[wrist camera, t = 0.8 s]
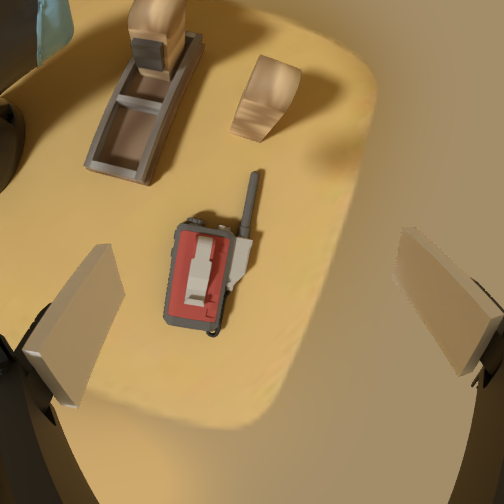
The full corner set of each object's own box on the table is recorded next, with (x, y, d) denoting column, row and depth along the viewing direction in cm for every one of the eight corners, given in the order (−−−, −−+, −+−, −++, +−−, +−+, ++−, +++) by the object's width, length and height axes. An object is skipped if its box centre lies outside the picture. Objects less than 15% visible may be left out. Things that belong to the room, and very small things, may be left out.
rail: (89, 170, 31) (38, 138, 17) (149, 38, 31) (140, -31, 17) (149, 186, 33) (123, 157, 19) (203, 49, 32) (214, -21, 19)
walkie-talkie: (231, 335, 36) (262, 175, 36) (237, 348, 32) (271, 168, 31) (161, 325, 34) (190, 160, 34) (157, 337, 30) (190, 150, 29)
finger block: (228, 132, 34) (248, 86, 22) (242, 94, 34) (266, 39, 22) (259, 142, 35) (293, 102, 23) (271, 104, 35) (307, 54, 23)
